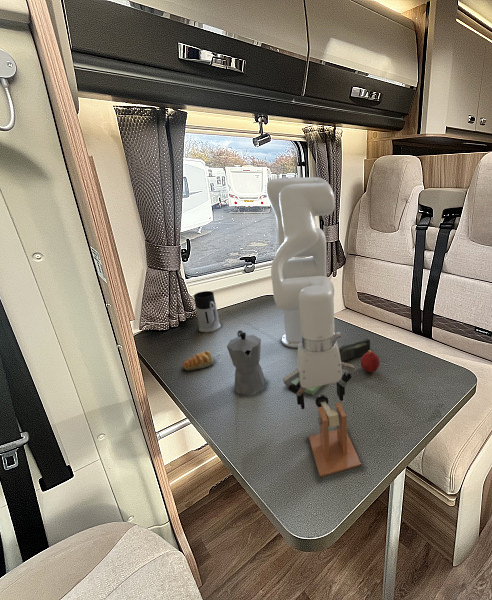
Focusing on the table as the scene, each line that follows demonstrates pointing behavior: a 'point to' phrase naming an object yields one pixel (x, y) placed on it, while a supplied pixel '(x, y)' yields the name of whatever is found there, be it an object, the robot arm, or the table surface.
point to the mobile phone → (354, 349)
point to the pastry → (198, 361)
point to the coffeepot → (246, 363)
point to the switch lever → (328, 410)
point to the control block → (308, 390)
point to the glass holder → (206, 311)
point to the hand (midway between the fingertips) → (321, 401)
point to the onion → (370, 361)
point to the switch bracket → (333, 445)
